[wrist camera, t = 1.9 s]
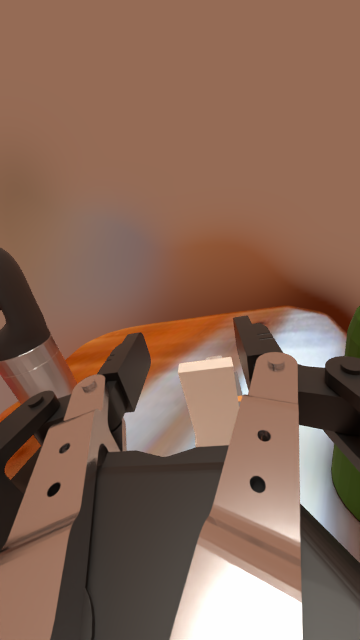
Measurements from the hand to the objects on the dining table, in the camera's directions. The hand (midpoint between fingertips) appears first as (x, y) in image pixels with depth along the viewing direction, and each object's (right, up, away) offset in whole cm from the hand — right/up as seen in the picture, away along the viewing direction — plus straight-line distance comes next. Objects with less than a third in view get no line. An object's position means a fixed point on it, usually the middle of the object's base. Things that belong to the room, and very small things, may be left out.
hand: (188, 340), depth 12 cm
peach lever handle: (+5, -16, +15) cm, 23 cm away
